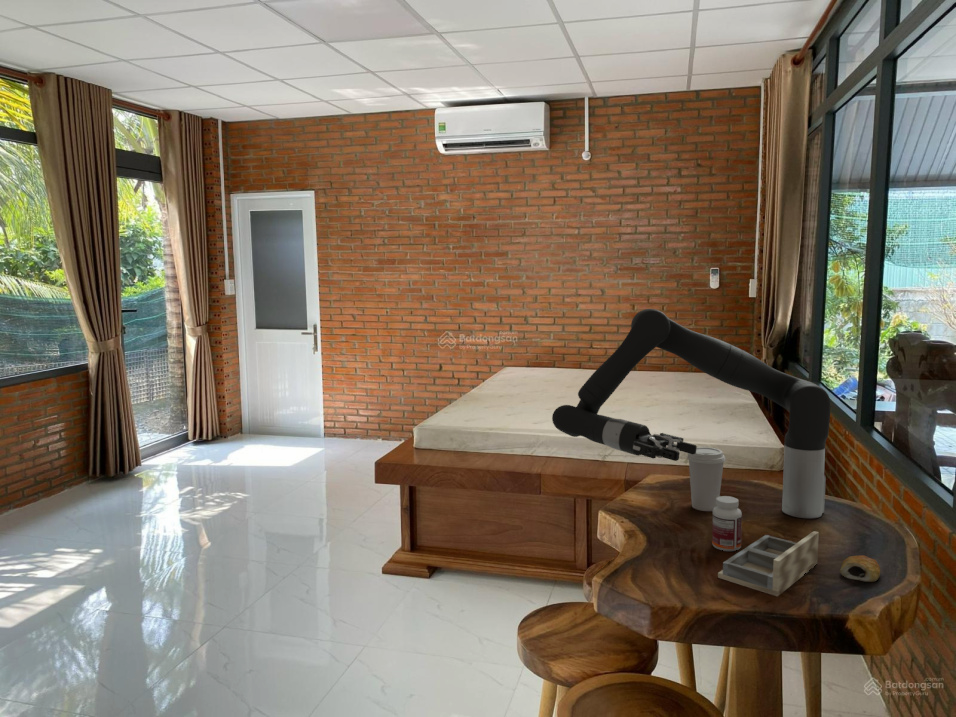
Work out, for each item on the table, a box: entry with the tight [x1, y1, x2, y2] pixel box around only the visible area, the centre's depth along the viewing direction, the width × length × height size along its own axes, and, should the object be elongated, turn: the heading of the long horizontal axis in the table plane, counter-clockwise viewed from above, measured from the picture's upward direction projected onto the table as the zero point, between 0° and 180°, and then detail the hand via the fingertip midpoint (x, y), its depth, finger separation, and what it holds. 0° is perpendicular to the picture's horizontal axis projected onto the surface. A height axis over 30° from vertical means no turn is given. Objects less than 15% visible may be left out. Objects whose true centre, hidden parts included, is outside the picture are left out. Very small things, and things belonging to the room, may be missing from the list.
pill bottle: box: [711, 495, 743, 552], centre depth 157 cm, size 6×6×11 cm
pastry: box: [839, 554, 882, 583], centre depth 143 cm, size 9×7×4 cm
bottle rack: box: [717, 530, 820, 598], centre depth 145 cm, size 20×12×7 cm, turn 135°
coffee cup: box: [686, 446, 726, 512], centre depth 183 cm, size 10×10×15 cm
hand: (687, 453), depth 162 cm, fingers open, 8 cm apart
